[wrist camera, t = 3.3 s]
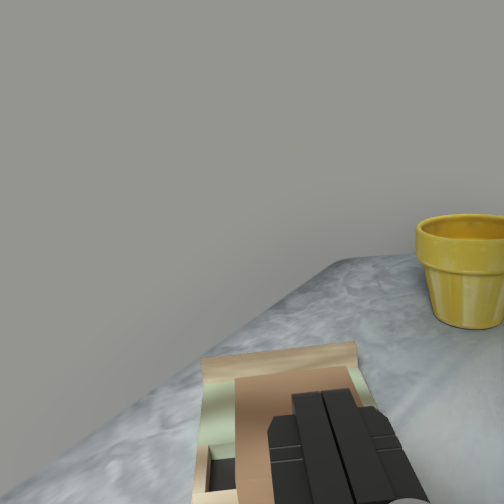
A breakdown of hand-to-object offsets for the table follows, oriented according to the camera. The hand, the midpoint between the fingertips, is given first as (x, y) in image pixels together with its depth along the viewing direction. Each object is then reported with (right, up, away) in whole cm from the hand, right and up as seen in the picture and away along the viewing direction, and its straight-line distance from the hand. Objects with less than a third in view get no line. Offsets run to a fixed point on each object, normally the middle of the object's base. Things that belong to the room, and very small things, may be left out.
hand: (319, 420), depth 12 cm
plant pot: (+21, -2, +36) cm, 41 cm away
